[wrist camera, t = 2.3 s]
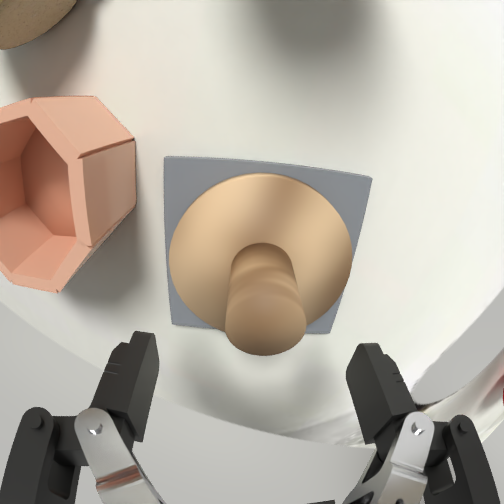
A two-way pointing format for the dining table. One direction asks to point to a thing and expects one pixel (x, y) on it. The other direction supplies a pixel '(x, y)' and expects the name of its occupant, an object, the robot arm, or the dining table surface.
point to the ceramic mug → (29, 19)
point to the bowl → (60, 186)
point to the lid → (260, 259)
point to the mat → (218, 169)
